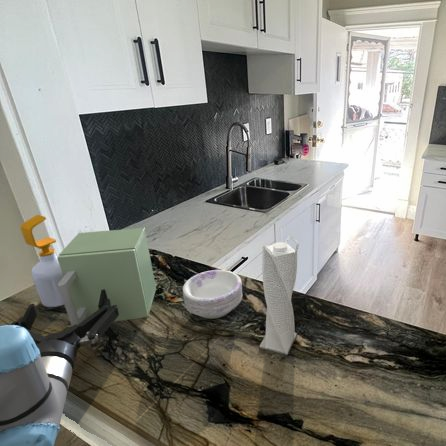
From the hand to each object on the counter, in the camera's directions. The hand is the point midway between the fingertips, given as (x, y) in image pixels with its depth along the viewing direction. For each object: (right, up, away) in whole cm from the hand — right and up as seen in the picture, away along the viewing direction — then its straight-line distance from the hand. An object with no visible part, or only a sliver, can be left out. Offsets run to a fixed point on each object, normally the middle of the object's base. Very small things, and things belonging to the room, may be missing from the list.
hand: (70, 301), depth 72 cm
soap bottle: (-15, -4, +17) cm, 23 cm away
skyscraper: (+48, -11, +3) cm, 49 cm away
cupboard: (+3, -5, +15) cm, 16 cm away
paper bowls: (+29, -6, +14) cm, 33 cm away
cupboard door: (+6, -8, +6) cm, 12 cm away
